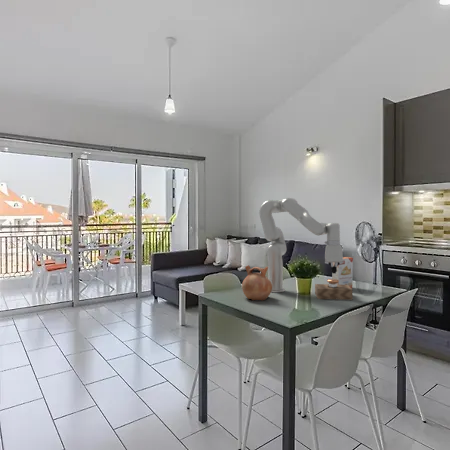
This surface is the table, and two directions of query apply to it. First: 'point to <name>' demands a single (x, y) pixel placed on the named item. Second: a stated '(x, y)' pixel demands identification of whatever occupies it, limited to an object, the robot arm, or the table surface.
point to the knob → (332, 283)
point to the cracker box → (344, 272)
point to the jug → (256, 284)
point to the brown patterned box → (333, 292)
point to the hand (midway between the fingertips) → (334, 273)
